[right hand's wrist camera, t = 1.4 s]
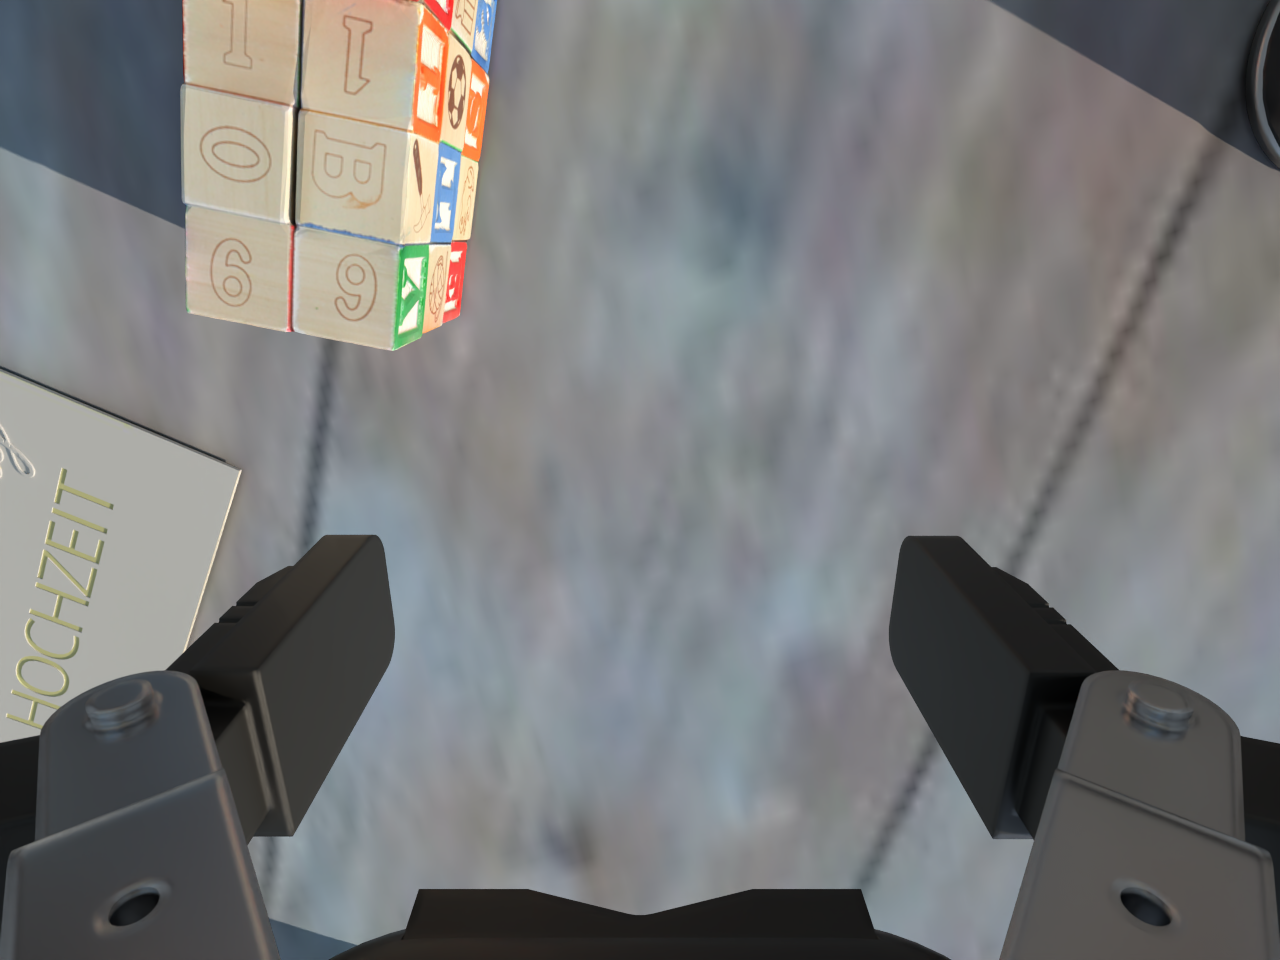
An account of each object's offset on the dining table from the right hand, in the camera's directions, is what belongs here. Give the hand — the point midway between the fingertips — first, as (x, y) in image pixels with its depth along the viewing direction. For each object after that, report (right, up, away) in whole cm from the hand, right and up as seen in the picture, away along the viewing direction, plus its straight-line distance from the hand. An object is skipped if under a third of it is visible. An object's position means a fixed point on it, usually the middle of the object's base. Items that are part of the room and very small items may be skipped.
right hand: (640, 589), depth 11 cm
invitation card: (-29, -4, +23) cm, 37 cm away
